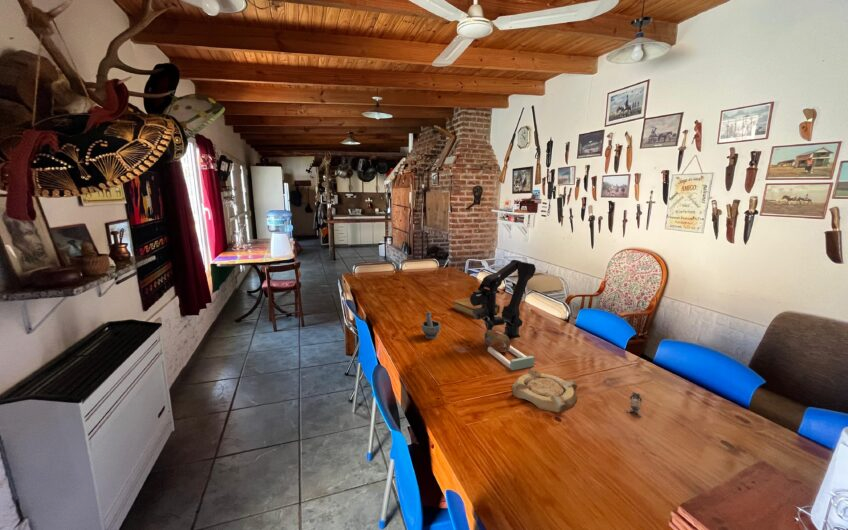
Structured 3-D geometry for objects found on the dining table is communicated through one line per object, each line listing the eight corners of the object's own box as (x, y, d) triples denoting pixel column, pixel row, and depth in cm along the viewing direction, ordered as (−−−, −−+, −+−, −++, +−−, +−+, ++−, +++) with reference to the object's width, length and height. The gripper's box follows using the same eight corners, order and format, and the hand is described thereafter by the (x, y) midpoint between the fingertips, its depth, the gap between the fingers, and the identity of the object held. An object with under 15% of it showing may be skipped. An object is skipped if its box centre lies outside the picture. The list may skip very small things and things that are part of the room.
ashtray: (546, 421, 112) (547, 407, 111) (498, 386, 132) (498, 374, 132) (594, 401, 123) (596, 388, 122) (543, 372, 143) (544, 361, 142)
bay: (507, 347, 166) (508, 339, 165) (533, 365, 148) (534, 357, 147) (487, 351, 162) (488, 343, 161) (512, 370, 144) (512, 361, 143)
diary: (499, 313, 216) (500, 304, 215) (478, 319, 205) (478, 310, 204) (474, 304, 234) (474, 295, 233) (452, 309, 224) (453, 300, 222)
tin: (483, 343, 170) (484, 327, 168) (488, 342, 172) (489, 326, 170) (505, 355, 158) (506, 338, 156) (510, 353, 159) (511, 336, 157)
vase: (625, 403, 121) (629, 388, 120) (643, 410, 118) (647, 395, 116) (623, 410, 117) (626, 395, 115) (641, 418, 113) (645, 402, 112)
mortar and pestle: (442, 339, 175) (443, 316, 173) (425, 341, 173) (425, 318, 170) (435, 331, 186) (435, 309, 184) (419, 333, 183) (418, 311, 181)
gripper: (466, 298, 174) (465, 328, 177) (484, 310, 157) (483, 342, 160) (485, 296, 177) (484, 325, 181) (506, 307, 160) (504, 339, 163)
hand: (488, 332), depth 171 cm, fingers closed
